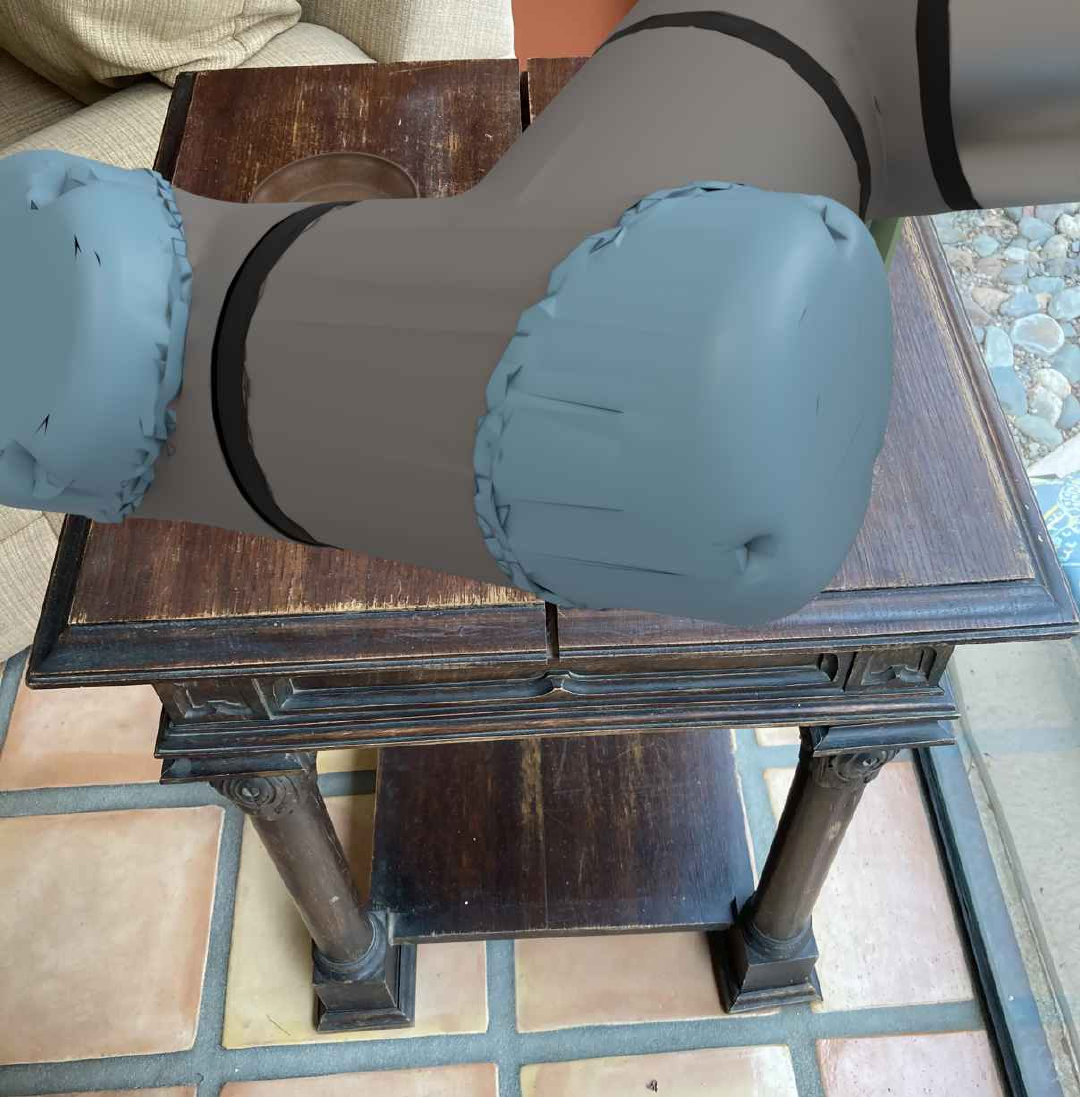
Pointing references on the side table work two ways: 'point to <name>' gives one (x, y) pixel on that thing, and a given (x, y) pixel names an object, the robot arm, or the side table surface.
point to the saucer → (336, 180)
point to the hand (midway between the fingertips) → (725, 470)
